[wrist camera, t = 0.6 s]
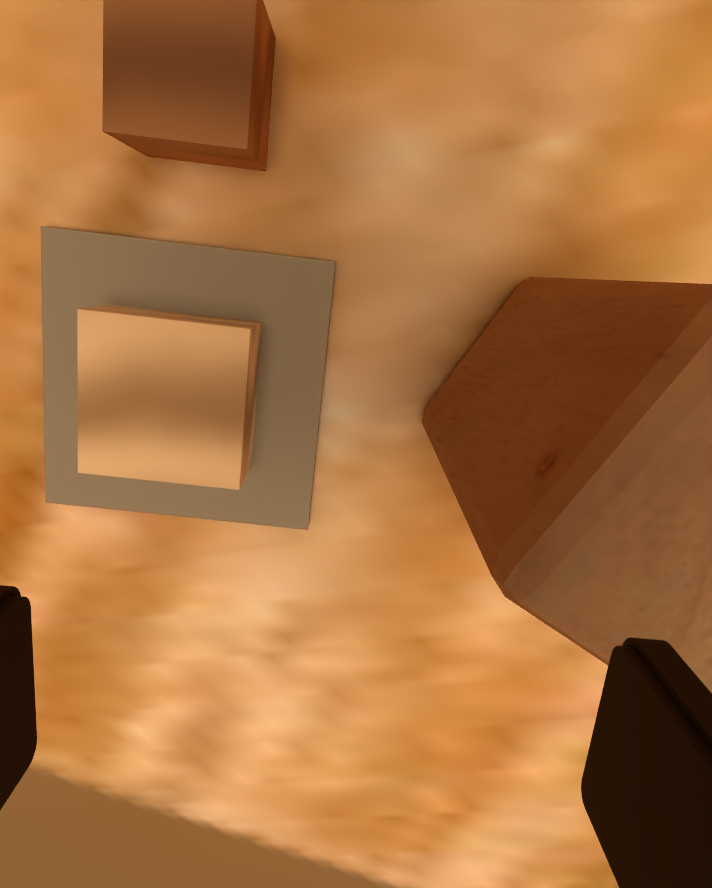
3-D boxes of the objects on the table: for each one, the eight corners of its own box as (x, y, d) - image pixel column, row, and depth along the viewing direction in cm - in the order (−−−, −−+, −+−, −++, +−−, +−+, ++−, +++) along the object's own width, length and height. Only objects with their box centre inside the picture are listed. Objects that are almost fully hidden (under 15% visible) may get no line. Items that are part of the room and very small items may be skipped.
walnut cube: (151, 22, 30) (103, -37, 24) (275, 38, 30) (257, -16, 25) (147, 156, 32) (102, 131, 26) (266, 171, 32) (247, 149, 26)
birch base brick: (109, 304, 33) (77, 308, 29) (262, 322, 33) (250, 329, 29) (108, 450, 35) (77, 472, 31) (251, 465, 35) (239, 489, 31)
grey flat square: (48, 227, 33) (40, 226, 32) (335, 261, 33) (335, 261, 32) (51, 497, 37) (45, 502, 36) (308, 524, 37) (307, 529, 36)
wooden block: (412, 418, 35) (484, 595, 16) (525, 269, 33) (762, 267, 14) (548, 514, 37) (760, 779, 18) (664, 377, 35) (1048, 509, 16)
